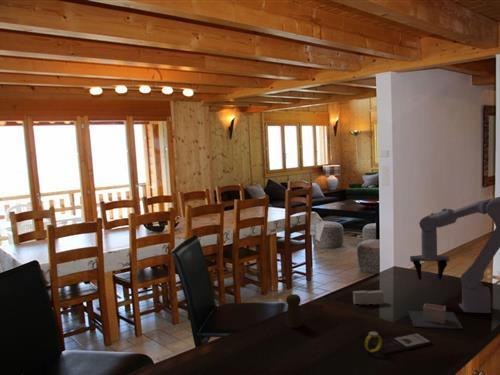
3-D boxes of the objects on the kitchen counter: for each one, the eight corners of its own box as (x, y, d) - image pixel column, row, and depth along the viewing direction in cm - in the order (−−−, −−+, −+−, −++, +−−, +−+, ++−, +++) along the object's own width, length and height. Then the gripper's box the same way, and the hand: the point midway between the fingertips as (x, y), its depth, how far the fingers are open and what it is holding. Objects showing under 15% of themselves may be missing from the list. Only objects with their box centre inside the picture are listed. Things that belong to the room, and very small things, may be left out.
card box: (425, 316, 160) (425, 303, 159) (446, 319, 156) (445, 306, 156) (423, 320, 156) (423, 306, 156) (444, 323, 153) (444, 309, 152)
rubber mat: (453, 313, 162) (453, 312, 162) (463, 329, 149) (463, 327, 149) (408, 312, 166) (408, 310, 166) (414, 327, 152) (414, 326, 152)
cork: (304, 322, 162) (303, 293, 161) (299, 328, 156) (298, 299, 155) (289, 320, 164) (288, 291, 163) (283, 326, 159) (282, 297, 158)
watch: (377, 348, 139) (378, 330, 139) (383, 351, 137) (384, 333, 136) (362, 351, 137) (363, 332, 136) (368, 354, 134) (369, 336, 134)
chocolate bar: (368, 341, 142) (414, 331, 148) (368, 344, 142) (414, 334, 148) (384, 353, 134) (432, 343, 139) (384, 356, 134) (432, 345, 139)
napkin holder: (389, 302, 178) (389, 288, 177) (380, 311, 169) (380, 297, 168) (354, 296, 186) (354, 283, 186) (344, 305, 177) (343, 291, 177)
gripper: (412, 248, 170) (413, 282, 172) (451, 247, 168) (451, 281, 169) (408, 244, 177) (409, 276, 179) (446, 243, 175) (446, 276, 176)
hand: (429, 278), depth 174 cm, fingers open, 7 cm apart
